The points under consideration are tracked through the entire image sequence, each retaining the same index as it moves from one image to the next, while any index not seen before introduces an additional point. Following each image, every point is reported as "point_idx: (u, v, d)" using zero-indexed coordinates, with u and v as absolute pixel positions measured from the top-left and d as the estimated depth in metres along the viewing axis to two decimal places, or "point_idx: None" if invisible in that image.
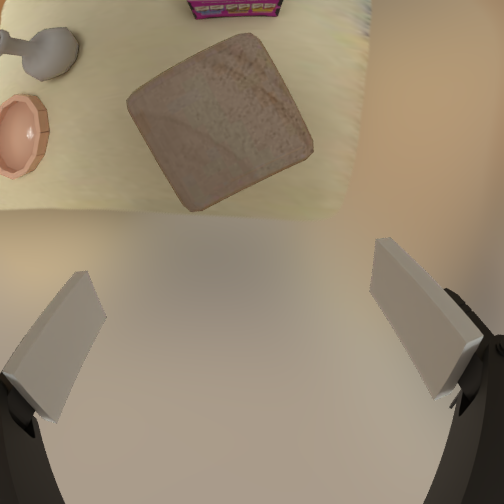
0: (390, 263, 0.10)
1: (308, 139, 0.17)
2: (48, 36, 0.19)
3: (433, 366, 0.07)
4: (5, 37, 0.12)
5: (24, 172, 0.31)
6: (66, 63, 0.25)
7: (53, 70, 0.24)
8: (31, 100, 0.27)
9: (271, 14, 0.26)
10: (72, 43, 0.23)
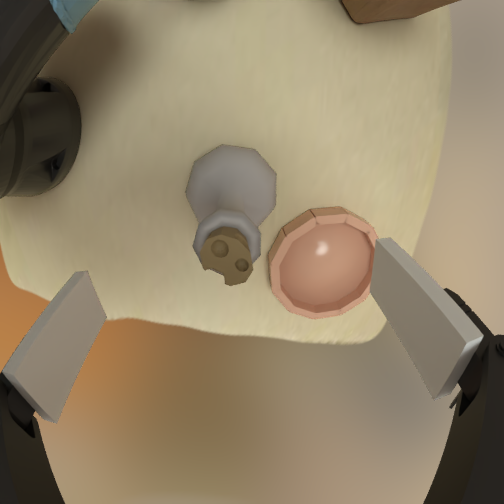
0: (390, 263, 0.10)
1: None
2: (215, 172, 0.22)
3: (433, 366, 0.07)
4: (225, 211, 0.15)
5: None
6: (261, 157, 0.25)
7: (272, 173, 0.25)
8: (293, 229, 0.30)
9: None
10: (230, 146, 0.24)
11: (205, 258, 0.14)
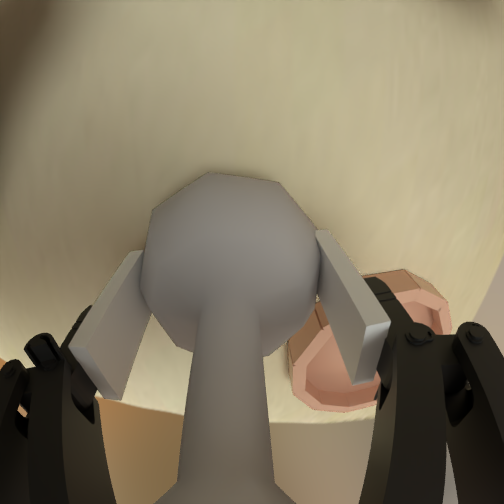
0: None
1: None
2: (187, 254, 0.09)
3: (349, 350, 0.08)
4: None
5: (449, 331, 0.18)
6: (290, 198, 0.13)
7: (315, 237, 0.12)
8: None
9: None
10: (226, 175, 0.12)
11: None
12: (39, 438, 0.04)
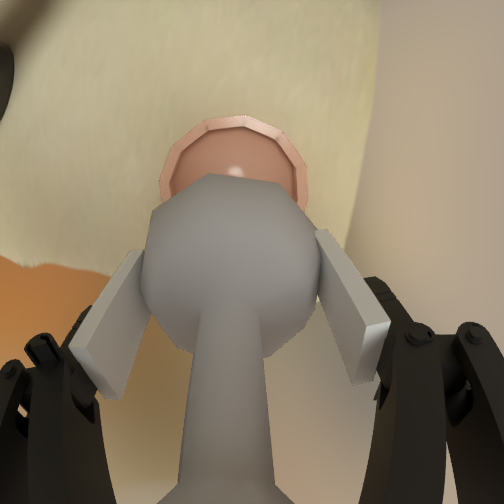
0: (320, 252, 0.11)
1: None
2: (187, 255, 0.09)
3: (349, 350, 0.08)
4: None
5: (303, 168, 0.25)
6: (291, 199, 0.12)
7: (315, 238, 0.12)
8: (181, 138, 0.23)
9: None
10: (226, 176, 0.12)
11: None
12: (39, 438, 0.04)
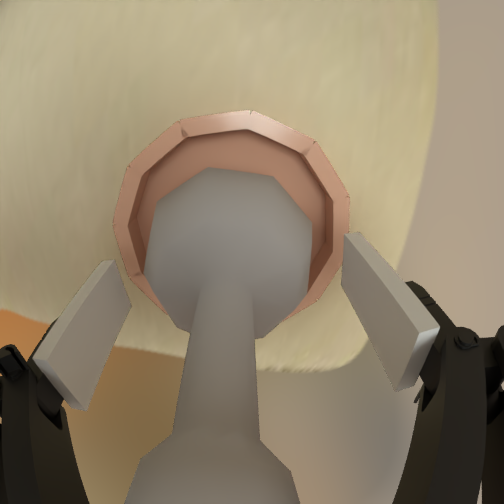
0: (355, 256, 0.11)
1: None
2: (188, 238, 0.10)
3: (393, 357, 0.08)
4: (195, 503, 0.03)
5: (345, 201, 0.15)
6: (284, 191, 0.13)
7: (306, 226, 0.13)
8: None
9: None
10: None
11: None
12: (11, 443, 0.03)
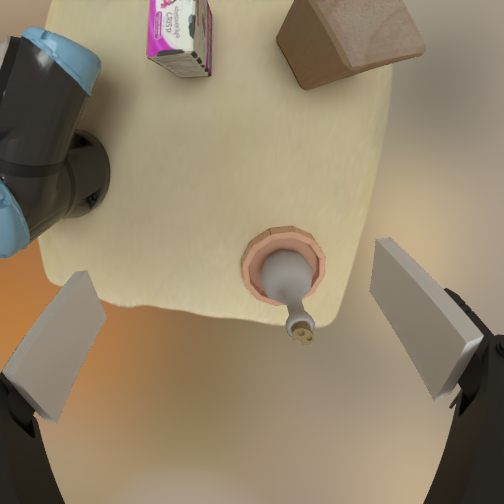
0: (389, 263, 0.10)
1: None
2: (282, 276, 0.41)
3: (433, 366, 0.07)
4: (301, 315, 0.34)
5: (324, 258, 0.46)
6: (304, 258, 0.44)
7: (310, 269, 0.44)
8: (256, 243, 0.44)
9: (211, 18, 0.29)
10: (287, 253, 0.43)
11: (294, 335, 0.33)
12: None
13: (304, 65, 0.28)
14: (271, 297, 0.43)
